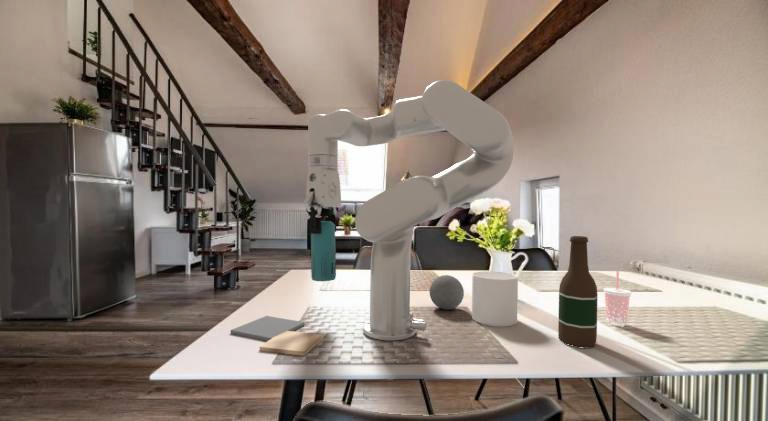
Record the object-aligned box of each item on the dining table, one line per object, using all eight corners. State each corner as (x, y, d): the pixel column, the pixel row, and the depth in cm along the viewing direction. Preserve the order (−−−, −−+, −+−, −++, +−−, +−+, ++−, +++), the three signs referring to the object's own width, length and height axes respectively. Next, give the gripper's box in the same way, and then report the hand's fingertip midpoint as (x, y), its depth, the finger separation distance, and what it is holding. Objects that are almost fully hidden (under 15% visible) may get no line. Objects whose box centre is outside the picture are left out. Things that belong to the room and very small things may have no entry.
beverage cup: (626, 329, 90) (627, 274, 89) (599, 323, 94) (600, 270, 94) (633, 324, 94) (634, 271, 93) (607, 319, 98) (608, 268, 98)
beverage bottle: (334, 287, 89) (333, 207, 89) (307, 287, 90) (307, 207, 90) (338, 282, 96) (337, 208, 96) (313, 282, 96) (313, 208, 96)
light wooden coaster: (323, 338, 81) (323, 334, 81) (304, 355, 71) (304, 351, 71) (283, 333, 83) (283, 330, 83) (259, 350, 73) (259, 346, 73)
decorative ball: (463, 305, 109) (463, 273, 109) (463, 315, 100) (464, 279, 99) (430, 303, 111) (431, 271, 111) (427, 312, 102) (428, 277, 102)
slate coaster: (304, 325, 89) (304, 322, 89) (271, 341, 78) (271, 338, 78) (266, 318, 94) (266, 315, 94) (230, 333, 83) (230, 330, 83)
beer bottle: (582, 351, 75) (584, 238, 75) (550, 339, 82) (552, 235, 82) (604, 345, 79) (606, 237, 79) (572, 334, 86) (574, 234, 86)
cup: (468, 323, 93) (469, 277, 93) (474, 311, 104) (475, 270, 104) (516, 329, 89) (517, 281, 89) (517, 316, 100) (518, 273, 99)
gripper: (316, 158, 83) (316, 235, 83) (351, 166, 99) (351, 231, 99) (290, 160, 86) (290, 234, 86) (328, 168, 102) (328, 230, 102)
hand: (323, 232), depth 93 cm, fingers closed on beverage bottle, 6 cm apart
